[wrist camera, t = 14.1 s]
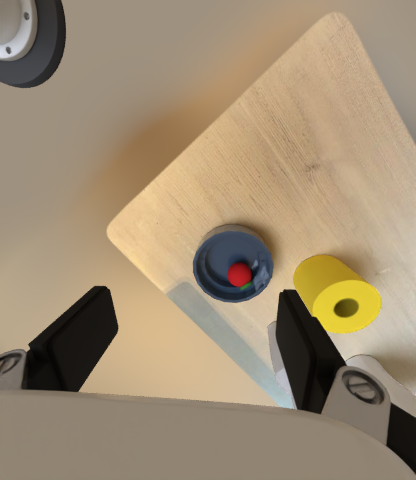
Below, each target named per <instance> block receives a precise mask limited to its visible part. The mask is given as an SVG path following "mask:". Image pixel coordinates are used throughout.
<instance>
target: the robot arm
mask: <svg viewBox="0 0 416 480" xmlns="http://www.w3.org/2000/svg"><path fill="white" fill-rule="evenodd" d="M37 22H38V19H37V9H36V4H35V0H0V60H1V61H15V60H18V59H20V58H22V57H23V56H24V55H26V54H27V53H28V52H29V50H30V49H31V47H32V45H33V43H34V41H35V37H36V33H37ZM117 332H118V323H117V319H116V315H115V310H114V305H113V301H112V297H111V293H110V290H109V289H108V288H107V287H106V286H94V287H93V288H92V289H90V290H89V291H88V292H87V293H86V294H85V295H84V296H83V297H82V298H80V299H79V300H78V301H77V302H76V303H75V304H74V305H72V306H71V307H70V308H69V309H68V310H67V311H66V312H64V313H63V314H62V315H61V316H60V317H59V318H57V319H56V321H54V322H53V323H52V324H51V325H50V326H48V327H47V328H46V329H45V330H44V331H43V332H42V333H40V334H39V335H38V336H37V337H36V338H35V339H34V340H33V341H31V342H30V343H29V344H28V345H29V347H30V350H29V351H28V352H26V351H25V350H22V349H16V350H12V351H8V352H5V353H3V354H1V355H0V480H416V417H414V416H412V415H411V414H409V413H408V412H406V411H404V410H403V409H401V408H400V407H398V406H397V405H395V404H393V403H392V402H391V400H390V395H389V393H388V391H387V389H386V388H385V386H384V385H383V384H382V383H381V382H380V381H379V380H378V379H377V378H376V377H375V376H373V375H372V374H370V373H369V372H367V371H365V370H363V369H361V368H358V367H354V366H347V364H346V363H345V361H344V359H343V358H342V356H341V355H340V353H339V351H338V350H337V348H336V347H335V345H334V343H333V342H332V340H331V339H330V337H329V336H328V334H327V332H326V331H325V329H324V328H323V326H322V324H321V323H320V321H319V320H318V319H317V317H312V316H311V314H310V313H309V311H308V309H307V308H306V306H305V304H304V303H303V301H302V299H301V298H300V296H299V294H298V293H297V291H296V290H286V289H284V290H283V292H280V294H279V303H278V312H277V322H276V331H275V336H276V341H277V345H278V348H279V351H280V354H281V358H282V361H283V364H284V368H285V371H286V374H287V378H288V381H289V384H290V387H291V391H292V394H293V397H294V401H295V404H296V407H297V410H296V409H289V408H282V407H271V406H261V405H250V404H239V403H225V402H213V401H199V400H186V399H171V398H157V397H144V396H129V395H114V394H97V393H82V392H78V391H79V390H80V388H81V387H82V385H83V384H84V382H85V381H86V379H87V378H88V376H89V374H90V373H91V372H92V370H93V369H94V367H95V366H96V364H97V363H98V361H99V359H100V358H101V357H102V355H103V354H104V352H105V351H106V349H107V348H108V346H109V345H110V343H111V342H112V340H113V339H114V337H115V336H116V334H117Z"/></svg>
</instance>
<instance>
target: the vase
mask: <svg viewBox="0 0 416 480" xmlns="http://www.w3.org/2000/svg"><path fill="white" fill-rule="evenodd" d="M345 363H346V364H347V366H354V367H358V368H361V369H363V370H365V371H367V372H369V373H370V374H372V375H373V376H375V377H376V378H377V379H378V380H379V381H380V382H381V383H382V384H383V385H384V386H385V388H386V389H387V391H388V393H389V395H390V400H391V402H392V403H393V404H395V405H397V406H398V407H400V408H401V409H403V410H404V411H406V412H408V413H409V414H411V415H412V416H414V417H416V396H415V395H413V394H412V393H411V392H410V391H408V390H407V389H406V388H405V387H403V386H402V385H401V384H400V383H398V382H397V381H396V380H395V379H394V378H392V377H391V376H390V375H389V374H388V373H387V372H386V371H385V370H384V369H383V367H382V366H381V365H380V364H379V362H378V361H377V360H376V359H375V358H373V357H371V356H366V355H359V356H354V357H352V358H350V359H348V360H347V361H346V362H345Z"/></svg>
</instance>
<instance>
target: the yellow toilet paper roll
mask: <svg viewBox="0 0 416 480" xmlns="http://www.w3.org/2000/svg"><path fill="white" fill-rule="evenodd" d="M293 281H294V286H295V288H296V290H297V291H298V293H299V295H300V296H301V298H302V300H303V301H304V303H305V305H306V306H307V308H308V310H309V311H310V313H311V314H312V316H313V317H317V319H318V320H319V321H320V323H321V324H322V326H323V328H324V329H325V330H327V331H329V332H333V333H351V332H355V331H358V330H361V329H363V328H365V327H366V326H368V325H369V324H370V323H372V322H373V321H374V320H375V318H376V317H377V316H378V314H379V312H380V309H381V297H380V294H379V293H378V291H377V290H376V289H375V288H374V287H373V286H372V285H370V284H369V283H368V282H366V281H365V280H364V279H363V278H361V277H360V276H359V275H357V274H356V273H355V272H354V271H352V270H351V269H350V268H349V267H347V266H346V265H345V264H343V263H342V262H341V261H340V260H338V259H337V258H335V257H332V256H329V255H317V256H313V257H310V258H308V259H306V260H305V261H303V262H302V263H301V264H300V265H299V266H298V268H297V269H296V271H295V273H294V278H293Z"/></svg>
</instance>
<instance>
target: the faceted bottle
mask: <svg viewBox="0 0 416 480" xmlns="http://www.w3.org/2000/svg"><path fill="white" fill-rule="evenodd" d="M267 328H268V337H269V346H270V354H271V359H272V364H273V368H274V372H275V376H276V381H277V384H278V385H279V386H280V387H281V388H282V389H283V390H284V391H285V392H287V393H288V394H289V395H290V396H291V398H292V402H293V405H294V409H296V410H297V407H296V404H295V401H294V397H293V394H292V391H291V387H290V384H289V381H288V378H287V374H286V371H285V368H284V364H283V361H282V358H281V354H280V351H279V348H278V345H277V341H276V336H275V331H276V322H272V323H271V324H270V325H269V326H268V327H267Z"/></svg>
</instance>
